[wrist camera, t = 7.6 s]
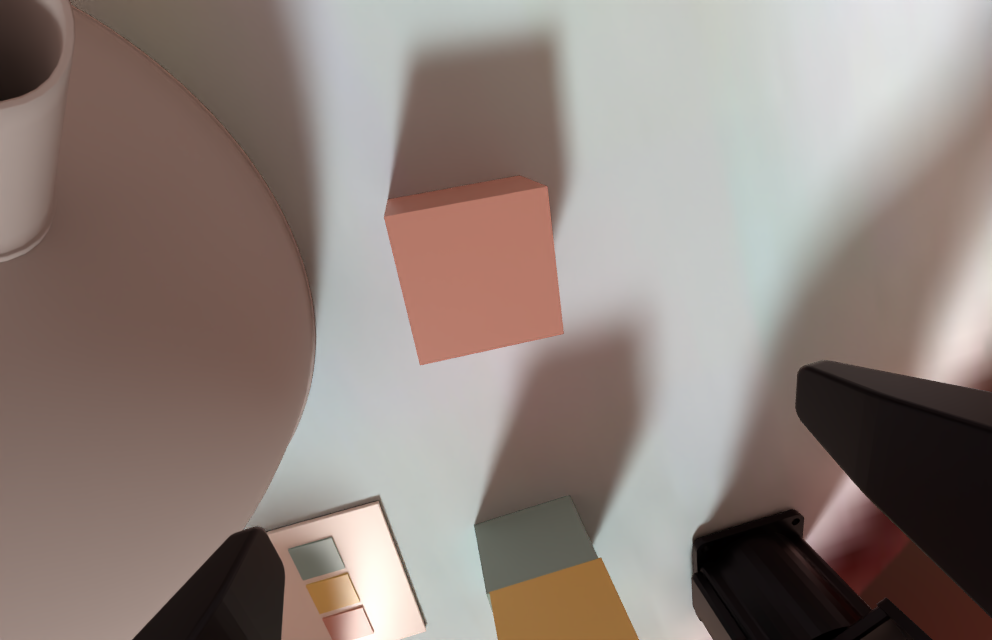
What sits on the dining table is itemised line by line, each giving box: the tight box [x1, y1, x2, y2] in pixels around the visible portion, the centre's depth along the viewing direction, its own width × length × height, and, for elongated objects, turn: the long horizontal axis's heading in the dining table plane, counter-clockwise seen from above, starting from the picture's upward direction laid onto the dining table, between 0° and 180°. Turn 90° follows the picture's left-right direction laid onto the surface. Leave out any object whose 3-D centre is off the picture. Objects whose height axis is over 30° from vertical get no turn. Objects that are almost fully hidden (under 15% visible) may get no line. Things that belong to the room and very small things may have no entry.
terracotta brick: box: [384, 175, 564, 365], centre depth 17 cm, size 5×5×4 cm
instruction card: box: [266, 501, 426, 640], centre depth 24 cm, size 7×9×1 cm
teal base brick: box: [474, 495, 598, 612], centre depth 24 cm, size 5×5×4 cm
